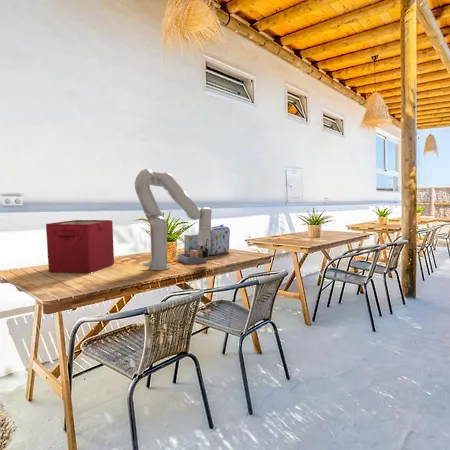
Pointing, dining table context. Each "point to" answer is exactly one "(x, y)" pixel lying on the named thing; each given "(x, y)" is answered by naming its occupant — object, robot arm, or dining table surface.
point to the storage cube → (80, 245)
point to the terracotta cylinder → (193, 253)
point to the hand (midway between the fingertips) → (203, 256)
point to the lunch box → (219, 240)
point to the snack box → (191, 243)
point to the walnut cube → (200, 253)
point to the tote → (190, 259)
